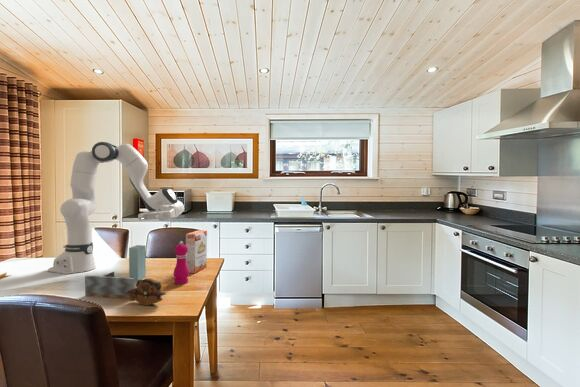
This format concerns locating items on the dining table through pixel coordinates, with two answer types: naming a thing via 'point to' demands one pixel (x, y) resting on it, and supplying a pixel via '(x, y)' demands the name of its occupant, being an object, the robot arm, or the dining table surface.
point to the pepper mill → (181, 264)
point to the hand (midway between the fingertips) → (147, 218)
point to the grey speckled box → (109, 286)
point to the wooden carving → (146, 292)
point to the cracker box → (196, 250)
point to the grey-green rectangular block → (137, 262)
